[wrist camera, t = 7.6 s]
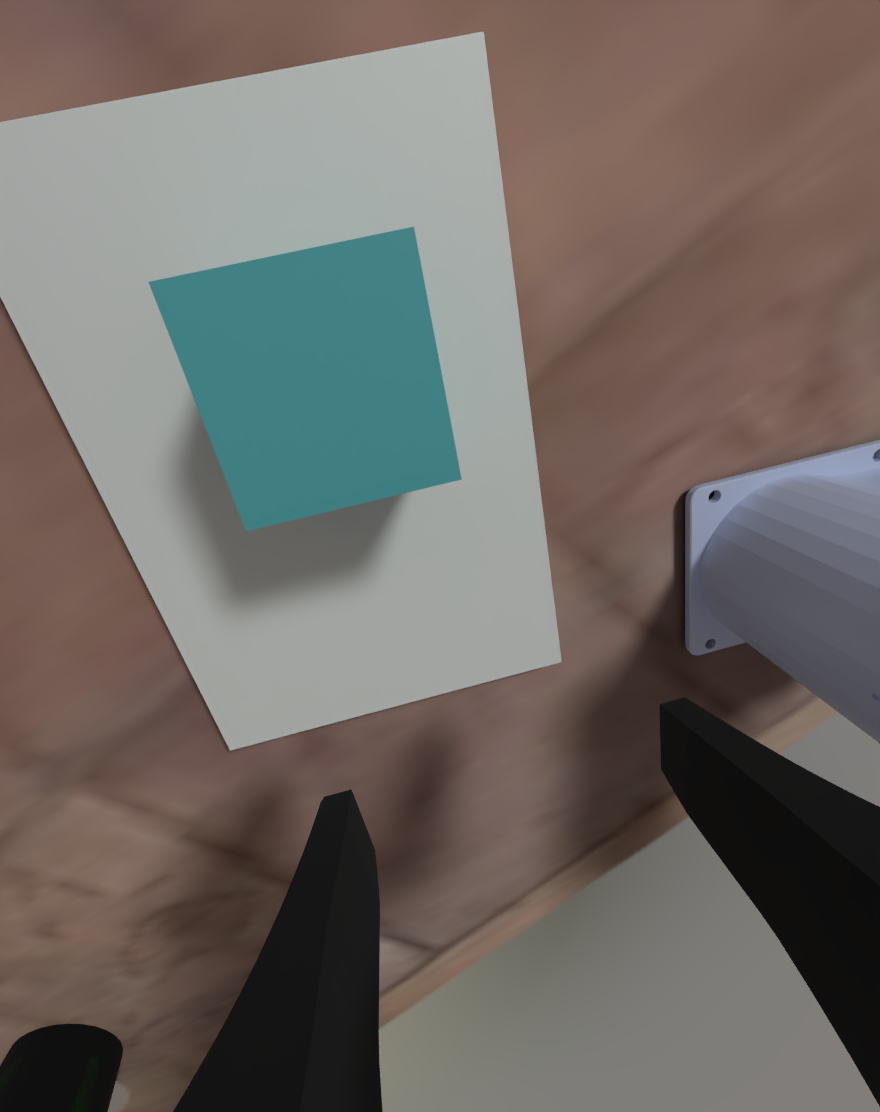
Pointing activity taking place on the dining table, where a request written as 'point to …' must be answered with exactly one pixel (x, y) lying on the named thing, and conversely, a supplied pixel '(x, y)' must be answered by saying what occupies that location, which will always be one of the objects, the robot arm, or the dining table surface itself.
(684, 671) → the dining table surface
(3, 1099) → the cup
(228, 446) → the turquoise box
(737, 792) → the robot arm
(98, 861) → the dining table surface
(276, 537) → the post board
